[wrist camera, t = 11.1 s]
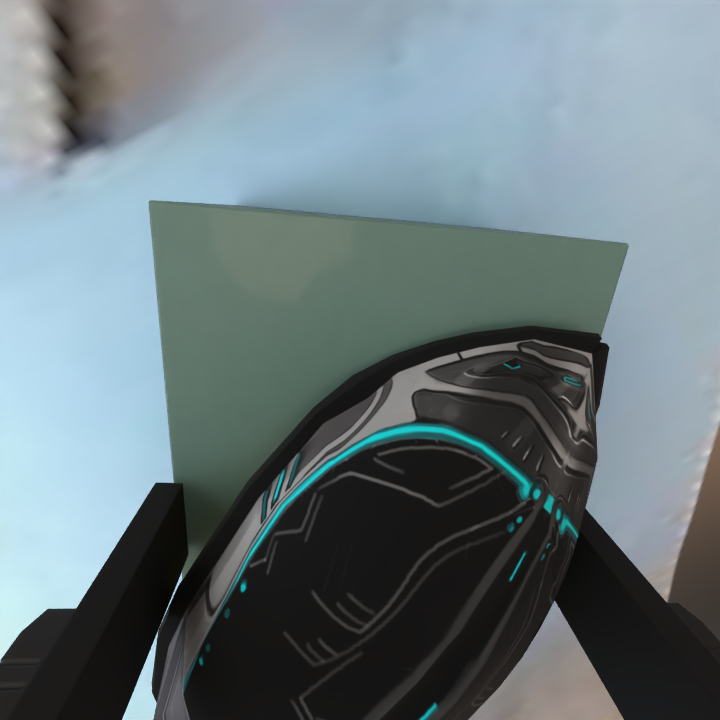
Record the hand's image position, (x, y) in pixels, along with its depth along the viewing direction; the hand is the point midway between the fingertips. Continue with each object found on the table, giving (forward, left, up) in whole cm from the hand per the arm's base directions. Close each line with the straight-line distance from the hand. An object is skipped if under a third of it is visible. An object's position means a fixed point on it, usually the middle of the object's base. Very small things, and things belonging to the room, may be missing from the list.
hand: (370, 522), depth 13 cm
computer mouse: (0, 0, 0) cm, 0 cm away
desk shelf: (0, 0, -9) cm, 9 cm away
